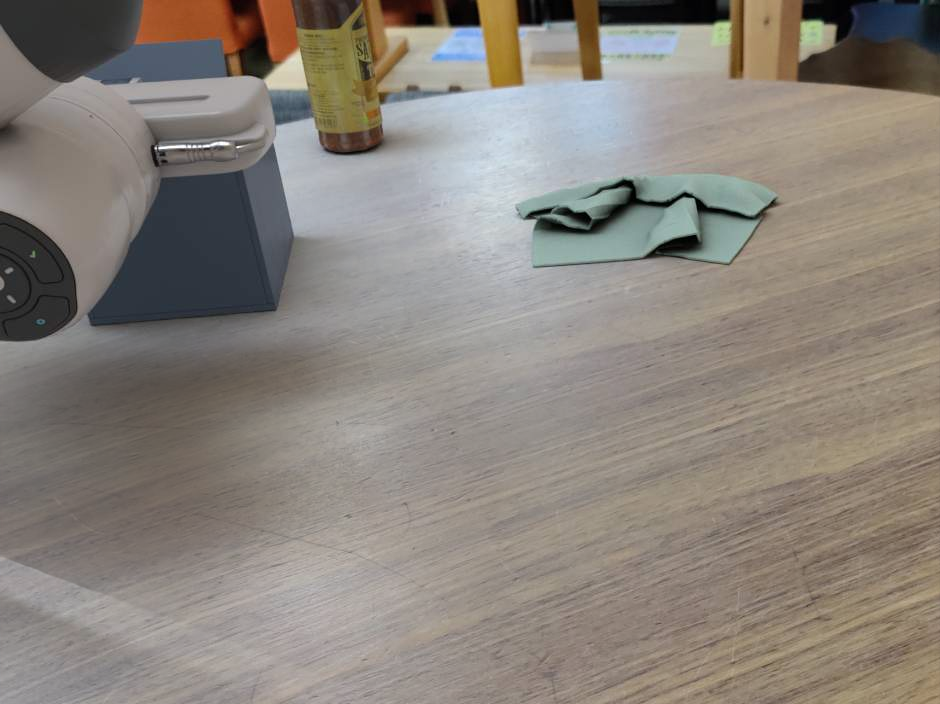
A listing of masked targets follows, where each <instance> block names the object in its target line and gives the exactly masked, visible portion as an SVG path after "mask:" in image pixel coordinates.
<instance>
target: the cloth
mask: <svg viewBox="0 0 940 704" xmlns="http://www.w3.org/2000/svg"><path fill="white" fill-rule="evenodd" d="M779 197H780V195H779V194H777V193H776V192H775V191H773V190H771V189H770V188H767V187H766V186H763V185H762V184H760V183H757V182H753V181H750V180H747V179H743V178H740V177H738V176H729V175H728V176H727V175H724V174H716V173H689V174H688V173H687V174H684V173H675V174H670V175H655V176H654V175H650V174H638V175H623V176H618V177H612V178H608V179H606V180H603V181H598V182H589V183H584V184H581V185H578V186H575V187H572V188H560V189H556V190H553V191H550V192H547V193H545V194H543V195H540V196H536V197H535V196H534V197H532V198H529V199H526V200H523V201H521V202H517V203H515V204H514V206H515V211H517V212H518V213H519V214H520V216H521V218H522V219H526V217H531V218H533V219H536V221H535V222H534V224H533V229H532V247H531V248H532V251H531V253H532V254H531V255H532V256H531V257H532V268H537V267H538V268H539V267H551V266H552V267H554V266H565V265H566V266H567V265H577V264H578V265H580V264H581V265H582V264H592V263H605V262H607V263H608V262H618V261H629V260H639V259H644V258H645V257H646V256H648V255H649V254H650V253H651V252H653V251H654V250H656V251H655V253H654V254H656V255H661V256H672V257H680V258H684V259H687V260H688V259H689V260H693V261H701V262H709V263H715V264H722V265H730V264H731V262H732V261H733V260H734V259H735V258H736V256H737V255H738V253H739V252H740V251H741V250H742V249H743V247H744V246H745V244H746V243H747V242H748V240H749V239H750V238H751V236H752V235H753V233H754V232H755V230H756V228H757V227H758V225H759V224H760V222H761V221H762V219H763V215H762V213H761V211H763V210H764V209H765V208H766V207H769V205H770V204H772V203H775V202H777V200H778V199H779ZM771 202H772V203H771Z"/></svg>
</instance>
